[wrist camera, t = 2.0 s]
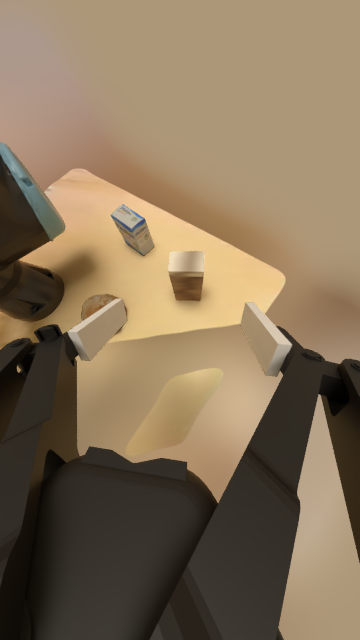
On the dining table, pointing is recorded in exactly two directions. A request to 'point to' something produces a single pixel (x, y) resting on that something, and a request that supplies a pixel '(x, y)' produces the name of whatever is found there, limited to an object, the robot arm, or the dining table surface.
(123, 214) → the medicine box
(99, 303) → the bread roll
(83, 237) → the dining table surface
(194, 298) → the walnut block
